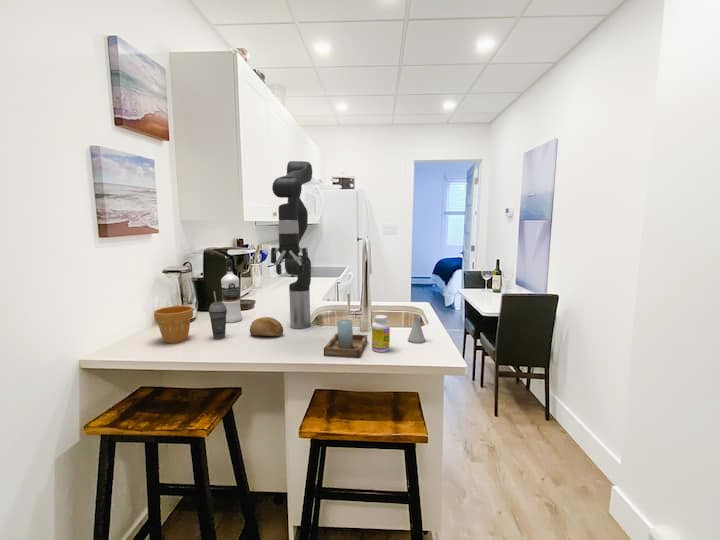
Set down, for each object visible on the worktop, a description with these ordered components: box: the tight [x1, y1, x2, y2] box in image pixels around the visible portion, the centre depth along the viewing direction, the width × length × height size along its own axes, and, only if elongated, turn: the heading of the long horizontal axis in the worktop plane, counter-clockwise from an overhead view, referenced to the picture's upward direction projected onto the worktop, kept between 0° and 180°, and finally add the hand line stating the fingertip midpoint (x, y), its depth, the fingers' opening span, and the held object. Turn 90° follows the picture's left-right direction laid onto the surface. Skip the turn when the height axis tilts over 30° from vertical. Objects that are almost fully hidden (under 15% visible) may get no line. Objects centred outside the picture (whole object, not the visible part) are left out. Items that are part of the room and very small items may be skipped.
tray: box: [323, 333, 368, 359], centre depth 139 cm, size 18×13×3 cm
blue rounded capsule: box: [336, 319, 354, 349], centre depth 137 cm, size 6×6×10 cm
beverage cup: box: [208, 290, 227, 340], centre depth 152 cm, size 7×7×20 cm
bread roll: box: [249, 316, 284, 337], centre depth 156 cm, size 10×15×8 cm, turn 78°
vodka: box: [220, 260, 243, 324], centre depth 178 cm, size 9×9×30 cm
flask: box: [407, 315, 426, 344], centre depth 147 cm, size 7×7×10 cm
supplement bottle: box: [371, 314, 391, 353], centre depth 137 cm, size 7×7×13 cm
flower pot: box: [153, 305, 194, 344], centre depth 150 cm, size 14×14×13 cm
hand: (290, 274), depth 139 cm, fingers open, 8 cm apart
